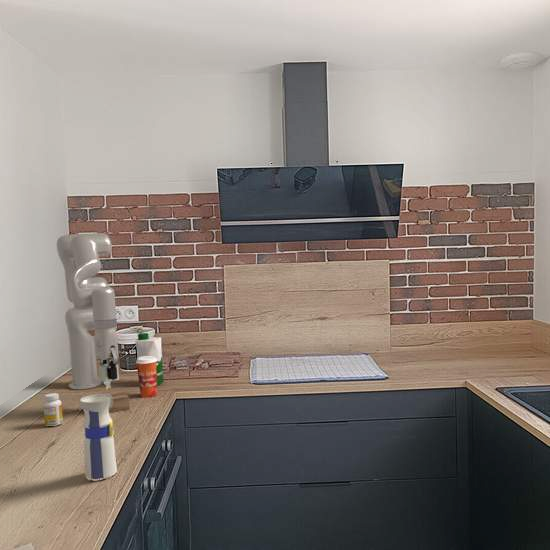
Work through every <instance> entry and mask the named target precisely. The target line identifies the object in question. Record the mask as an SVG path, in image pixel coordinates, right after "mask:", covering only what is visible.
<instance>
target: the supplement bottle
mask: <svg viewBox="0 0 550 550" xmlns="http://www.w3.org/2000/svg"><path fill="white" fill-rule="evenodd" d="M44 399H45V402H44V403H43V413H44V414H43V417H44V425H49V426H51V425H58V424H61V423H63V424H64V418H63V403H62V401H61V400H60V396H59V393H56V392H54V393H53V392H52V393H48V394H45V395H44Z"/></svg>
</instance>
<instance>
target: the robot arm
mask: <svg viewBox="0 0 550 550" xmlns="http://www.w3.org/2000/svg"><path fill="white" fill-rule="evenodd" d="M112 247H113V244H112V241H111V238H110V237H109V235H108V234H107V233H105V232H101V233H99V232H95V233H94V232H93V233H75V234H72V233H71V234H64V235H62V236H60V237H58V238H57V240H56V248H57V249H56V250H57V254H58V258H59V260H60V261H61V263H62V266H63V269H64V275H65V276H64V277H65V278H64V279H65V287H66V288H65V289H66V295H67V299H68V301H69V302H70V303H72V305H73V307H71V308H68V310H66V312H65V315H64V319H65V323H66V327H67V328H66V329H67V332H68V341H69V349H70V350H69V351H70V365H71V378H72V381H71V382H70V383H69V384H68V388H69V389H71V390H88V389H92V388H97V387H99V386H102V384H103V381H101V380H100V379H99V377H98V367H97V366H98V365H97V358H98V360H99V365H103V364H107V365H108V368H107V377H108V379H109V380H110V379H112V380H113V379H117V364H118V360H119V344H118V336H117V335H118V334H117V330H116V329H118V323H117V322H118V321H117V309H116V307H117V306H116V295H115V290H114V288H112V287H111V286H109V284H108V282H107V279H105V278H104V277H101V276H100V277H99V276H98V277H95V276H96V275H98V274H99V272H100V271H101V269H102V263H101V260H100V257H101V256H109V255H110V254H111V253H112V249H113V248H112ZM90 330H94V336H92V335H91V334H90V333H89V332H88V331H90Z"/></svg>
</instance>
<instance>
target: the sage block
mask: <svg viewBox="0 0 550 550" xmlns="http://www.w3.org/2000/svg"><path fill="white" fill-rule="evenodd" d="M97 366H98V376H99V377H98V379H99V380H101V381H102V383H104V382H105V381H106V377H107V368H108V365H107V364H103V365H100V364H98V365H97ZM119 371H120V370H119V364H118V363H117V379H113V380H111V382H112V381H119V380H120V372H119Z"/></svg>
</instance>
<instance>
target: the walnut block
mask: <svg viewBox="0 0 550 550" xmlns="http://www.w3.org/2000/svg"><path fill="white" fill-rule="evenodd" d="M101 394H109V395H111V396H112V398H113V405H112V408H111V407H109V413H113V414H115V413H114V412H118V413H120V412H119V411H124V412H127V410H129V411H130V410H131V409H130V397H129V395H127V394H126V393H125V392H124V391H123V390H115V391H110V392H103V393H101Z"/></svg>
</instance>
